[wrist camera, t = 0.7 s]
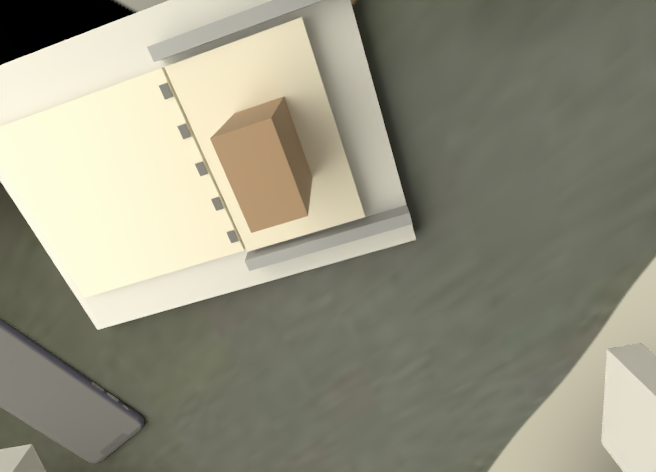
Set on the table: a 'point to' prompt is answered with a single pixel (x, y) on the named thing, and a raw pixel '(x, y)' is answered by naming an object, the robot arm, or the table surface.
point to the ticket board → (174, 158)
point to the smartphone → (61, 400)
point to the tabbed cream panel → (269, 135)
